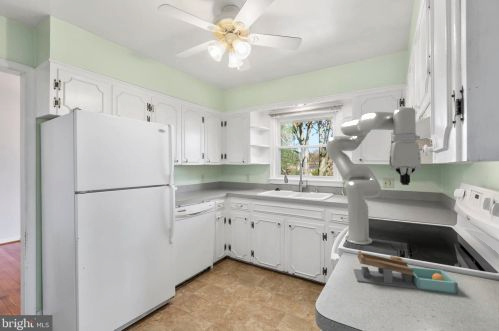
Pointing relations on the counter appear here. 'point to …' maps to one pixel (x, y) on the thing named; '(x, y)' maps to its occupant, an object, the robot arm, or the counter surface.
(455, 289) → the dish
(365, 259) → the seesaw lever
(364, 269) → the lever stand
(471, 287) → the counter surface
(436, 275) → the ball
